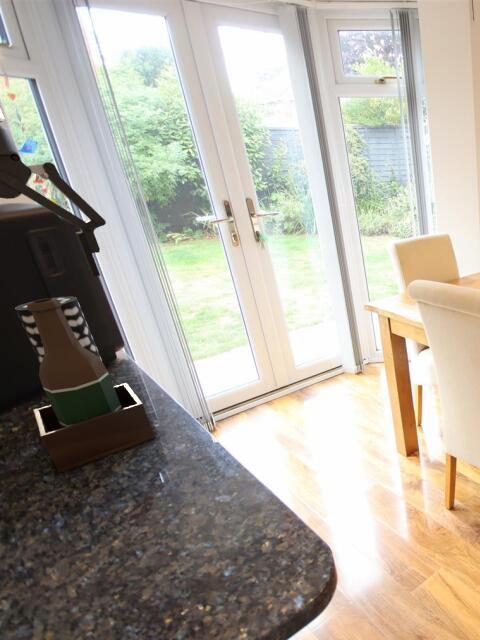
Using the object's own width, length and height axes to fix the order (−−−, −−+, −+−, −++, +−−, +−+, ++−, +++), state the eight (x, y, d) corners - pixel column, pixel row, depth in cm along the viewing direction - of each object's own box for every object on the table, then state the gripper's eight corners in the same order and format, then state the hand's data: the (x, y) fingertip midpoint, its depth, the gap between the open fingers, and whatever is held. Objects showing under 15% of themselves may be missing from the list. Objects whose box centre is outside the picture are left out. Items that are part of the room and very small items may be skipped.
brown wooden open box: (49, 444, 77) (33, 409, 74) (138, 414, 85) (126, 382, 83) (59, 473, 69) (40, 436, 67) (155, 437, 78) (142, 403, 75)
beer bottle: (69, 457, 72) (0, 312, 63) (72, 437, 78) (9, 300, 69) (131, 438, 76) (75, 300, 68) (130, 420, 82) (78, 290, 73)
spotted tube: (59, 399, 92) (15, 303, 85) (111, 385, 97) (75, 294, 90) (60, 413, 86) (14, 312, 79) (116, 397, 92) (78, 301, 84)
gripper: (-209, 118, 48) (-101, 310, 56) (95, 123, 65) (145, 270, 73) (-194, 124, 53) (-96, 300, 61) (86, 127, 70) (134, 265, 78)
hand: (36, 284), depth 67 cm, fingers open, 13 cm apart
